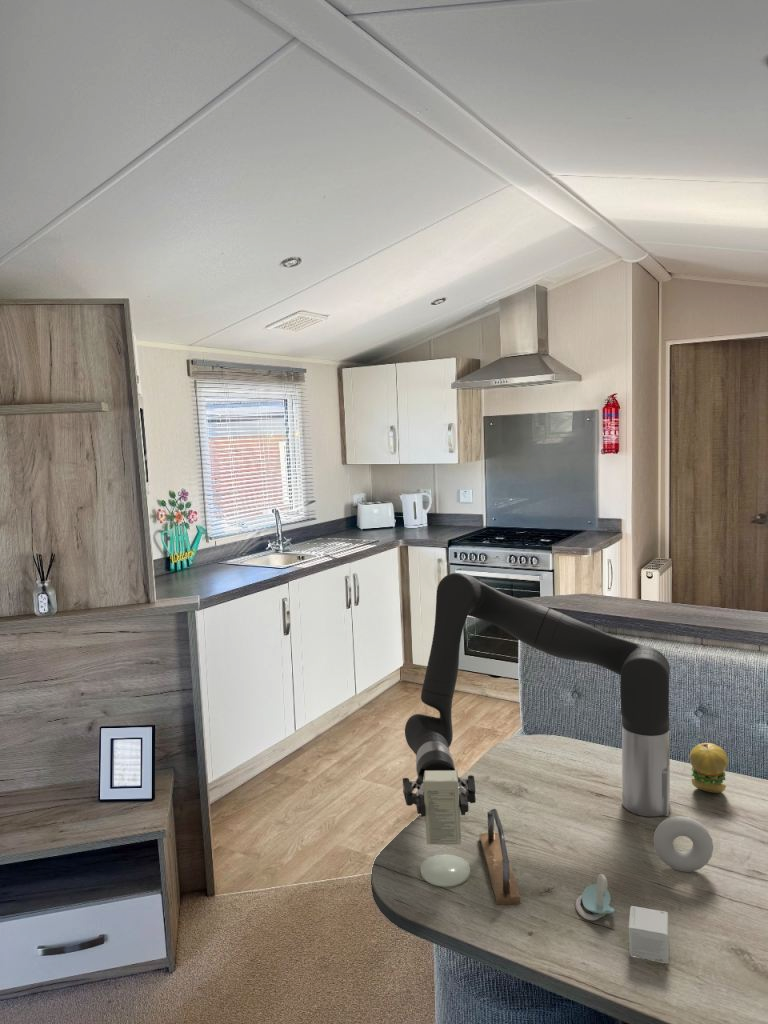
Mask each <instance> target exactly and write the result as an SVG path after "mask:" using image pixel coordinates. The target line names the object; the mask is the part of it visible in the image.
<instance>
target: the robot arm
mask: <svg viewBox="0 0 768 1024" xmlns="http://www.w3.org/2000/svg"><path fill="white" fill-rule="evenodd" d="M435 595H436V596H435V613H434V614H435V616H434V626H433V634H432V643H431V648H430V651H429V657H428V662H427V666H426V670H425V673H424V674H425V675H424V679H423V683H422V688H421V694H420V700H421V703H423V704H425V705H427V706H429V707H430V708H433V709H435V710H437V711H438V713H439V717H435V716H432V715H426V714H422V713H416V714H412V715H411V716H410V717H409V718H408V719H407V721H406V723H405V727H404V736H405V740H406V744H407V745H408V747H409V748H410V750H411V751H412V752H413V754H415V755H416V756H415V757H416V759H415V760H416V761H415V770H416V775H417V778H416V779H415V780H414V781H411V780H410V778H408V777H404V778H402V793H403V797H404V801H405V803H406V804H405V805H406V806H408V807H409V806H412V805H415V806H416V813H417V814H419V815H420V817H421V818H422V817H423V818H424V817H425V803H424V786H423V778H424V773H425V771H432V770H456V767H455V763H454V759H453V756H452V753H451V752H450V746H451V745H452V742H453V736H454V735H453V732H454V731H453V721H452V707H453V706H452V705H453V699H454V695H455V689H456V684H457V679H458V674H459V667H460V666H459V663H460V648H461V647H460V646H461V639H462V634H463V630H464V626H465V623H466V621H467V618H468V616H469V617H472V618H476V619H478V620H481V621H484V622H486V623H489V624H492V625H494V626H497V628H500V629H501V630H503V631H504V632H506V633H508V634H509V635H511V636H512V637H514V638H515V639H517V640H518V641H520V642H522V643H523V644H526V645H527V646H530V648H534V649H536V650H537V651H541V652H542V653H545V654H547V655H550V656H553V657H555V658H560V659H564V660H568V661H574V662H575V661H576V662H583V663H589V664H592V665H596V666H599V667H601V668H604V669H607V670H609V671H611V672H612V673H614V674H617V675H619V676H620V681H619V683H620V715H621V738H622V739H621V751H622V752H621V753H622V754H621V756H622V757H621V759H622V760H621V761H622V763H621V765H622V766H621V773H622V776H621V777H622V778H621V779H622V780H621V782H622V787H621V788H622V789H621V790H622V791H621V792H622V793H621V795H622V796H621V797H622V800H621V801H622V806H623V807H624V808H625V810H628V812H631V813H632V814H635V815H638V816H642V817H643V816H644V817H653V818H654V817H660V816H665V817H668V816H669V813H670V803H671V801H670V800H671V798H670V797H671V760H670V675H671V668H670V663H669V661H668V659H667V657H666V656H665V655H664V654H663V653H662V652H661V651H659V650H658V649H656V648H654V647H651V646H647V645H644V644H641V643H638V642H635V641H632V640H629V639H626V638H620V637H619V636H618V637H617V636H615V635H613V634H610V633H607V632H604V631H602V630H600V629H598V628H596V627H594V626H592V625H589V624H588V623H585V622H583V621H580V620H578V619H576V618H573V617H571V616H569V615H566V614H564V613H562V612H560V611H557V610H554V609H553V608H550V607H548V606H544V605H542V604H538V603H536V602H533V601H532V602H531V601H529V600H525V599H522V598H518V597H515V596H511V595H508V594H506V593H504V592H502V591H499V590H497V589H495V588H493V587H491V586H489V585H488V584H485V583H484V582H482V581H480V580H479V579H477V578H476V577H474V576H472V575H470V574H467V573H461V572H453V573H448V574H447V575H445V576H444V577H443V578H442V579H440V581H439V582H438V584H437V588H436V594H435ZM458 787H459V807H460V816H466V813H468V812H469V803H470V804H475V803H476V802H477V800H476V782H475V776H474V775H472V774H470V775H468V776H467V778H464V779H462V778H460V777H459V776H458ZM415 789H417V791H416V792H414V791H415Z"/></svg>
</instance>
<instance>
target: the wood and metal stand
mask: <svg viewBox="0 0 768 1024" xmlns="http://www.w3.org/2000/svg"><path fill="white" fill-rule="evenodd" d="M495 825H496V828H497V832H495ZM478 834H479V842H480V847H481V850H482V853H483V857H484V861H485V864H486V869H487V873H488V876H489V880H490V883H491V887H492V890H493V894H494V895H493V896H494V897H495V903H496V905H497V906H498V905H514V904H515V905H517V904H519V905H520V904H521V903H522V902H521V894H520V891H519V889H518V885H517V882H516V881H517V880H516V879H515V876H514V873H513V870H512V866H511V863H510V860H509V856H508V850H507V845H506V839H505V834H504V827H503V825H502V822H501V819H500V816H499V814H498V811H497V809H496V808H492V809H490V810H488V811H487V832H486V833H485V832H484V833H478Z"/></svg>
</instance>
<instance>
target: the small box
mask: <svg viewBox="0 0 768 1024" xmlns="http://www.w3.org/2000/svg"><path fill="white" fill-rule="evenodd" d="M669 929H670V928H669V912H667V911H663V910H658V909H651V908H646V907H641V906H635V905H631V906H630V908H629V917H628V945H629V946H628V949H629V950H628V951H629V952H628V953H629V954H630V955H632V956H636V957H639V958H638V959H640V958H645V959H648V960H647V961H649V960H654V961H657V962H656V963H659V962H663V963H662V964H664V963H667V964H666V965H668V964H669V959H670V931H669ZM630 955H629V956H630ZM645 959H644V960H645ZM654 961H653V962H654Z"/></svg>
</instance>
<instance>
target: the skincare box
mask: <svg viewBox="0 0 768 1024" xmlns="http://www.w3.org/2000/svg"><path fill="white" fill-rule="evenodd" d="M458 773H459V772H458V770H457V769H455V770H432V771H425V773H424V778H423V786H424V803H425V818H424V819H425V834H426V835H425V836H426V844H427V845H434V846H435V845H438V846H439V845H440V846H441V845H447V846H449V845H450V846H452V845H461V844H462V840H461V839H462V833H461V831H462V830H461V811H460V807H459V787H458V777H459V775H458Z"/></svg>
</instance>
